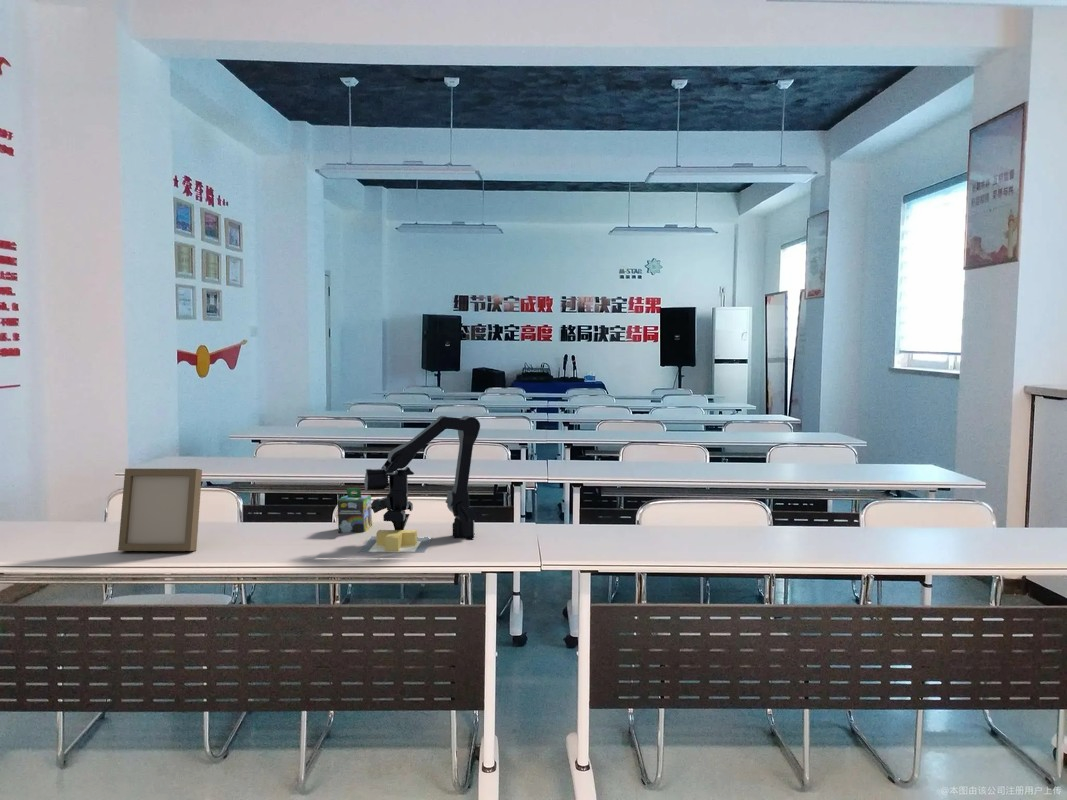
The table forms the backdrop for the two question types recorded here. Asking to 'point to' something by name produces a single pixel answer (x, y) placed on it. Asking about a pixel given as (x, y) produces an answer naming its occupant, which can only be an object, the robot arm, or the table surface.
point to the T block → (396, 539)
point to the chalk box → (354, 512)
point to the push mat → (418, 548)
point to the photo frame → (160, 510)
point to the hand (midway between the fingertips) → (398, 537)
